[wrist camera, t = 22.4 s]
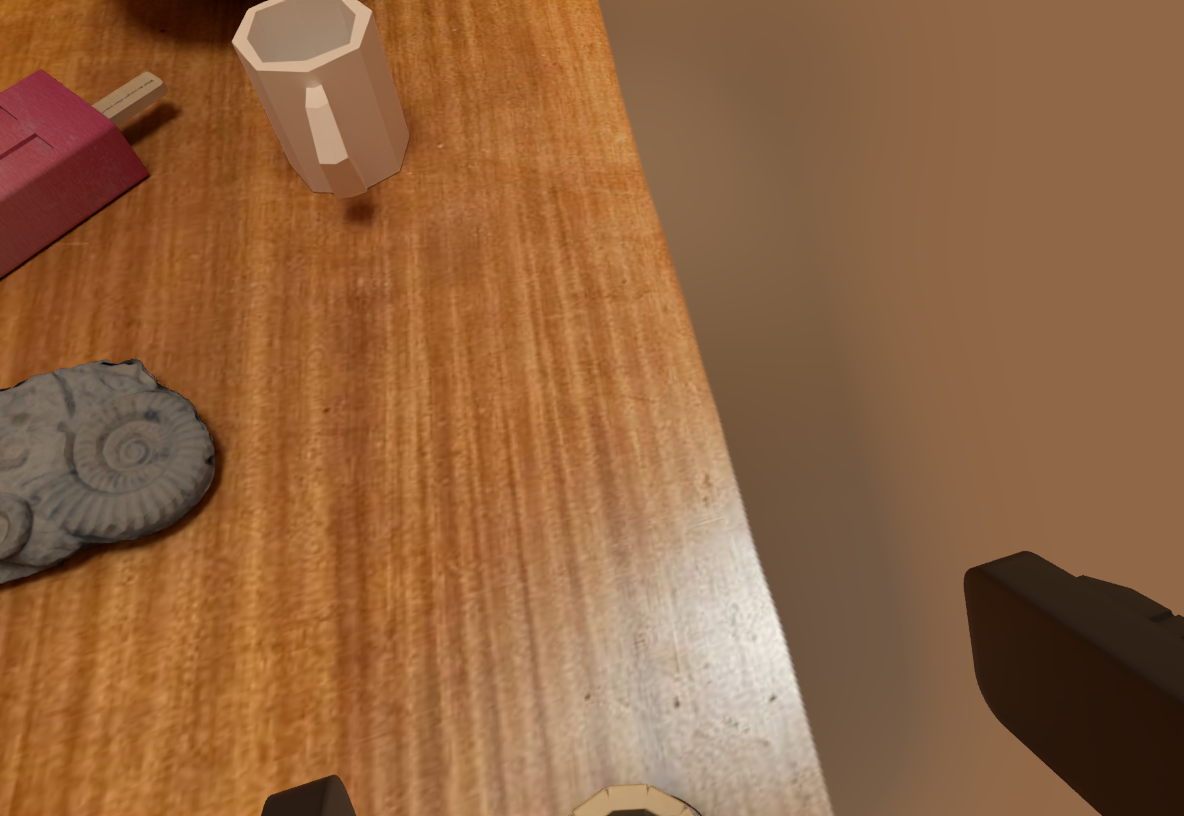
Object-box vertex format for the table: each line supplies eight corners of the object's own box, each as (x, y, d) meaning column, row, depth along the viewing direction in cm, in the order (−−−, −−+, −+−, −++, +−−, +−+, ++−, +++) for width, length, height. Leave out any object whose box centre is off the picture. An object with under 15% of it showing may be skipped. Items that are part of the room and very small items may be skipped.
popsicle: (180, 78, 56) (-97, 259, 48) (211, 134, 60) (-39, 308, 53) (103, 27, 59) (-168, 190, 52) (138, 83, 63) (-108, 241, 56)
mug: (284, 127, 60) (227, 3, 51) (400, 100, 61) (362, -26, 52) (303, 248, 54) (241, 130, 45) (431, 216, 55) (394, 95, 46)
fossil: (248, 489, 45) (218, 457, 42) (-79, 691, 40) (-144, 674, 37) (159, 340, 51) (125, 301, 47) (-140, 503, 46) (-202, 472, 42)
